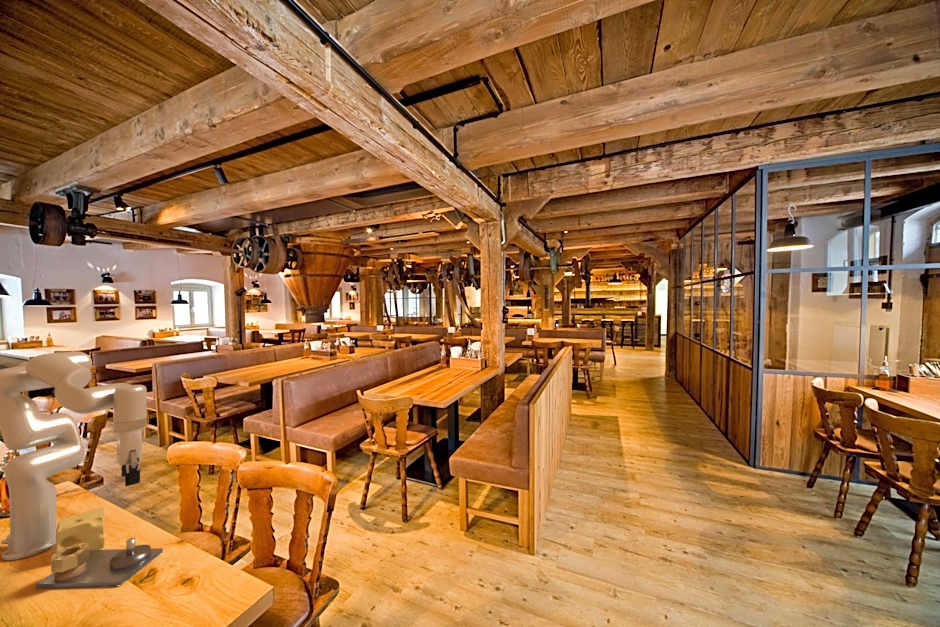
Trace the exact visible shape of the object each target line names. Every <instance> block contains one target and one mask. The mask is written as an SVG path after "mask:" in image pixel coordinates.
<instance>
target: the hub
mask: <svg viewBox="0 0 940 627" xmlns="http://www.w3.org/2000/svg"><path fill="white" fill-rule="evenodd" d="M125 545H126V546H125V547H126V548H124V549H125V550H123V551H121V552H119V553H118V554H116V555H115V556H114V557H112V559H111V560H110V568H111V569H112V570H121V569H125V568H129V567H132V566H134V565H136V564H138V563H140V562H142V561H144V560H145V559H146V558H147V557H148V556H149V555H150V554H151V549H152V546H151V545H149V544H139V545H136V537H130V538H129V539H127V540H126V544H125Z"/></svg>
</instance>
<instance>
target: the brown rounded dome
mask: <svg viewBox="0 0 940 627" xmlns="http://www.w3.org/2000/svg"><path fill="white" fill-rule="evenodd" d="M85 570H86V561H85V562H84V563H82V564H81V565H79V566H78V567H75V568H72V569H70V570H67V571H64V572H55V581H57V582H61V581H65V580H69V579H71V578H74V577H76V576H78V575H80V574H81V573H82V572H84V571H85Z"/></svg>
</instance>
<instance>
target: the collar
mask: <svg viewBox="0 0 940 627" xmlns="http://www.w3.org/2000/svg"><path fill="white" fill-rule="evenodd" d="M88 558H89V543H79V544H76V545H73V546H69V547H66V548H64V549H62V550H60V551H58V552H57V553H56V552H55V553H53V554H52V555H51V560H50V566H51V567H50V570H51V571H50V572H51V574H52V573H54V572H64V571H67V570H70V569H72V568H75V567H78V566H79V565H81V564H82V563H84V562H85V561H87V560H88Z"/></svg>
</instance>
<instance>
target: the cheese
mask: <svg viewBox="0 0 940 627" xmlns="http://www.w3.org/2000/svg"><path fill="white" fill-rule="evenodd" d="M104 532H105V510H104V506H100V507H97V508H94V509H92V510H89V511H86V512H82V513H79V514H75V515H72V516H68V517H65V518H62V519H59V520H58V523H57V525H56V545H55V548H56V549H55V553H57V552H58V551H60V550H62V549H64V548H66V547H69V546H73V545H76V544H79V543H89V550H102V548H104V546H105V542H106V539H105V533H104Z"/></svg>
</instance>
